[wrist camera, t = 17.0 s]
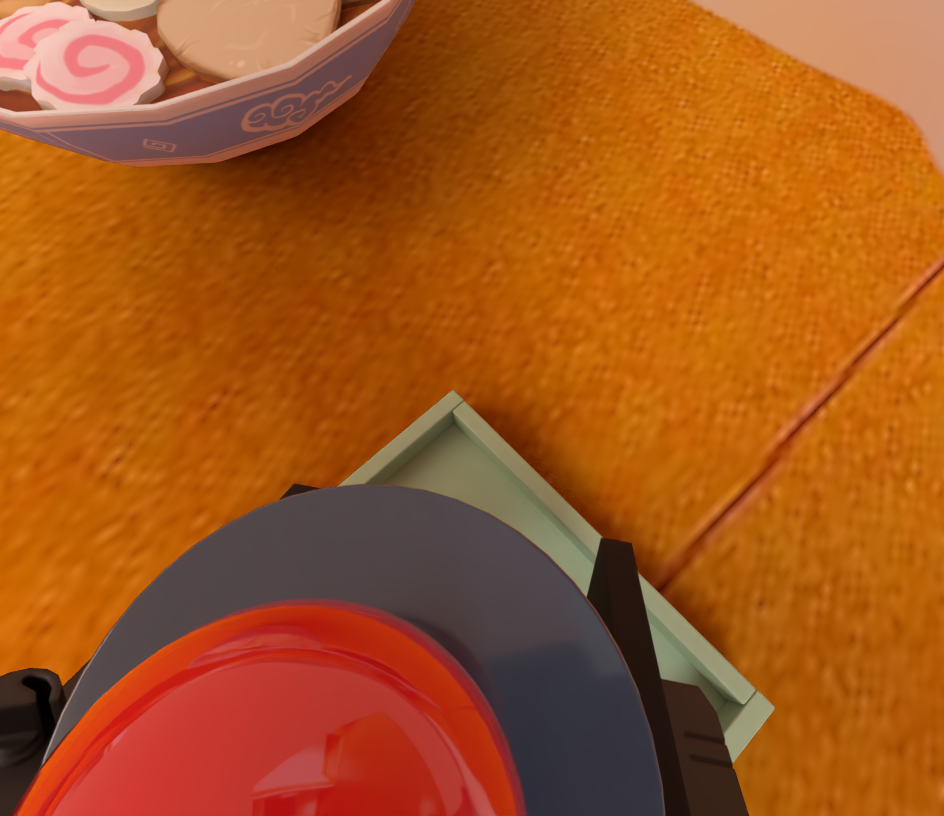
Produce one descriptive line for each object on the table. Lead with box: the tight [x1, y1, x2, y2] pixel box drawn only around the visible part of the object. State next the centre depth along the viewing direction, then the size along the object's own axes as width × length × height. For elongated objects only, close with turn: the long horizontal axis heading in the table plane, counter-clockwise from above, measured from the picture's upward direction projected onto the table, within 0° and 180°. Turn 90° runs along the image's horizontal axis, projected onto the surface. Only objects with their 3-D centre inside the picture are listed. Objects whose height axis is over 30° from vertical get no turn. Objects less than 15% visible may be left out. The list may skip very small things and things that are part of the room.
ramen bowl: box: [0, 0, 416, 167], centre depth 23 cm, size 25×23×8 cm
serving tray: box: [338, 390, 775, 763], centre depth 15 cm, size 13×13×2 cm
